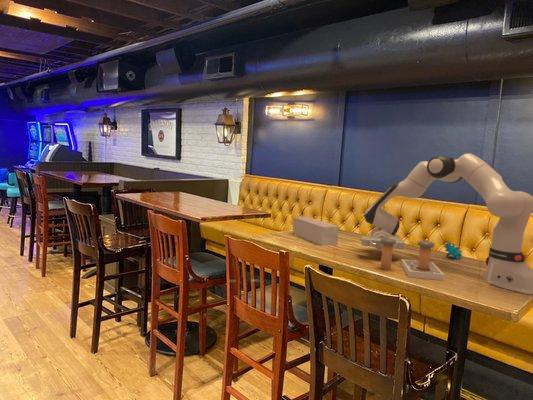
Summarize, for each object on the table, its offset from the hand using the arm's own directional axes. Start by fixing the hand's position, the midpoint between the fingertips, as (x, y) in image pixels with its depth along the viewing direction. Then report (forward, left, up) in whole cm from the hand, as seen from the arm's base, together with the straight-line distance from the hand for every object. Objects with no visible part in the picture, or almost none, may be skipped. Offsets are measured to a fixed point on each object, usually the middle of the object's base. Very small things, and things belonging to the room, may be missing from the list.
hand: (383, 246), depth 190 cm
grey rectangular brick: (+55, -1, -9) cm, 56 cm away
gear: (-5, -47, -9) cm, 48 cm away
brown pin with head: (-9, +8, -9) cm, 15 cm away
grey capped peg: (-22, -1, -8) cm, 23 cm away
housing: (-19, -4, -9) cm, 21 cm away
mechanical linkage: (-29, -50, -9) cm, 58 cm away
